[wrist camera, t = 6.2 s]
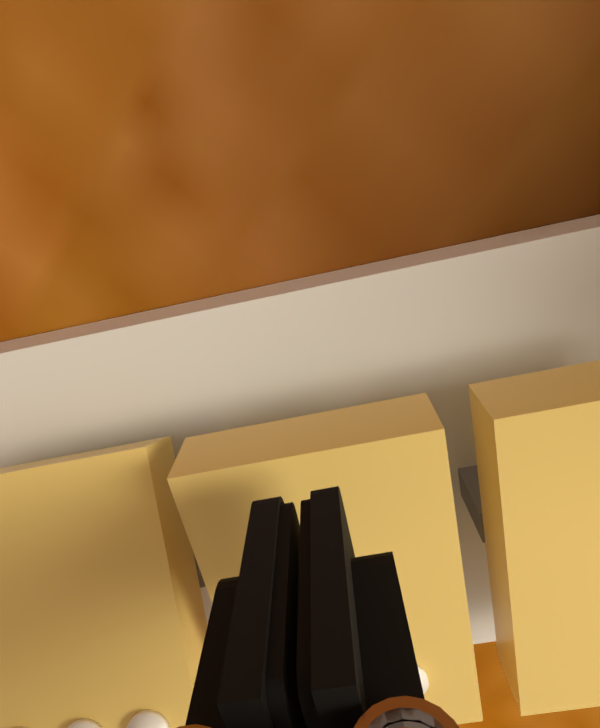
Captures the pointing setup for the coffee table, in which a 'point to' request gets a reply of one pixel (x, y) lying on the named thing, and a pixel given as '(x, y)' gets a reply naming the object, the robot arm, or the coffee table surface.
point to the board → (319, 358)
